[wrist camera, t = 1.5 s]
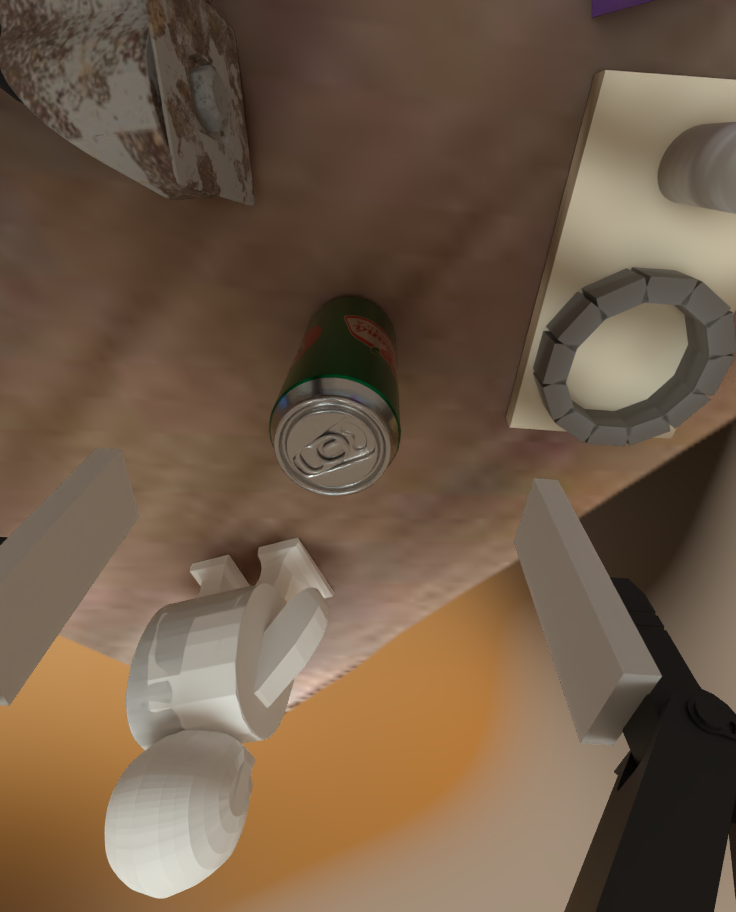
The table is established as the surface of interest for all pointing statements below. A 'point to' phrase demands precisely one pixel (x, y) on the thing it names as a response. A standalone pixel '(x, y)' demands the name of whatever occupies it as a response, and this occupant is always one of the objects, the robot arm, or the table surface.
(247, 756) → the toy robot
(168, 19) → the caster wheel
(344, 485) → the soda can
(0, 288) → the table surface
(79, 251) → the table surface
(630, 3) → the bracket
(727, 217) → the socket board
